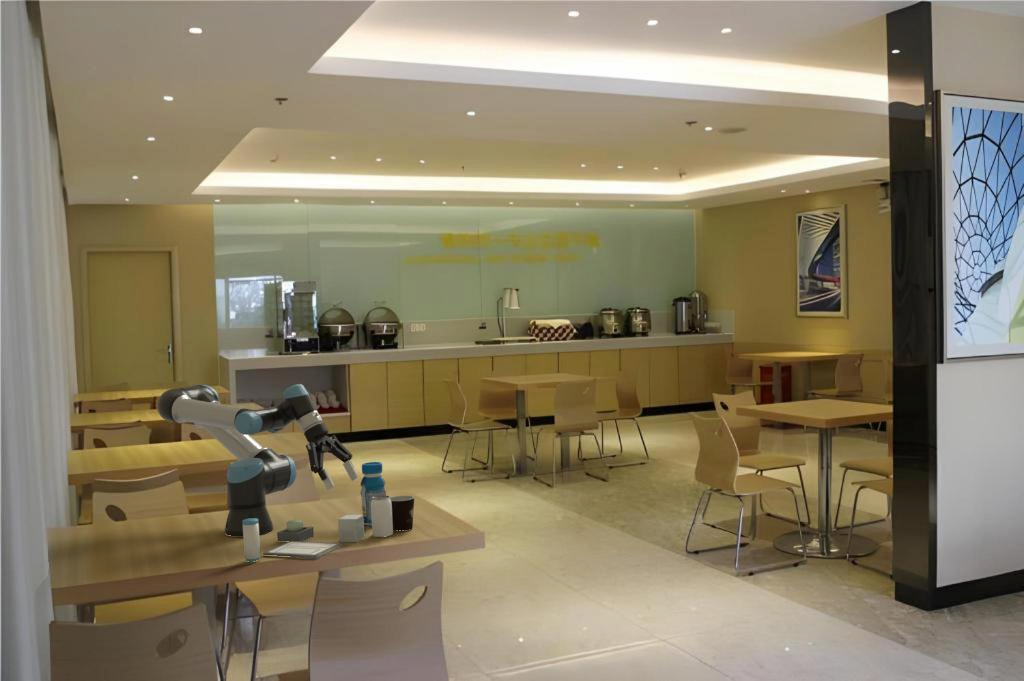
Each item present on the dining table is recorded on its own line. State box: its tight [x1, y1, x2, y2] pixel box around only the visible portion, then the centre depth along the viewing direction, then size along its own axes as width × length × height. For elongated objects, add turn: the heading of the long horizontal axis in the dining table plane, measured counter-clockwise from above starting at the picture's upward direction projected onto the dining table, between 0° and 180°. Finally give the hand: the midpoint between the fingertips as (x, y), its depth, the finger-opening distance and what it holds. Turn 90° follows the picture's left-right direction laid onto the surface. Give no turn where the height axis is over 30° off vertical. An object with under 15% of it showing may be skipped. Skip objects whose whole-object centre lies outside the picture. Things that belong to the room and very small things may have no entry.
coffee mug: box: [389, 495, 415, 532], centre depth 298 cm, size 12×9×10 cm
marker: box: [242, 518, 261, 562], centre depth 266 cm, size 4×4×12 cm
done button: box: [286, 519, 304, 532], centre depth 290 cm, size 5×5×3 cm
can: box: [371, 495, 394, 538], centre depth 289 cm, size 6×6×12 cm
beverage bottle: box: [360, 461, 387, 526], centre depth 307 cm, size 8×8×20 cm
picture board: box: [262, 540, 342, 560], centre depth 274 cm, size 18×14×1 cm
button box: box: [276, 526, 315, 542], centre depth 290 cm, size 8×8×3 cm
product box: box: [337, 514, 365, 543], centre depth 285 cm, size 6×6×7 cm
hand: (343, 483), depth 304 cm, fingers open, 13 cm apart
